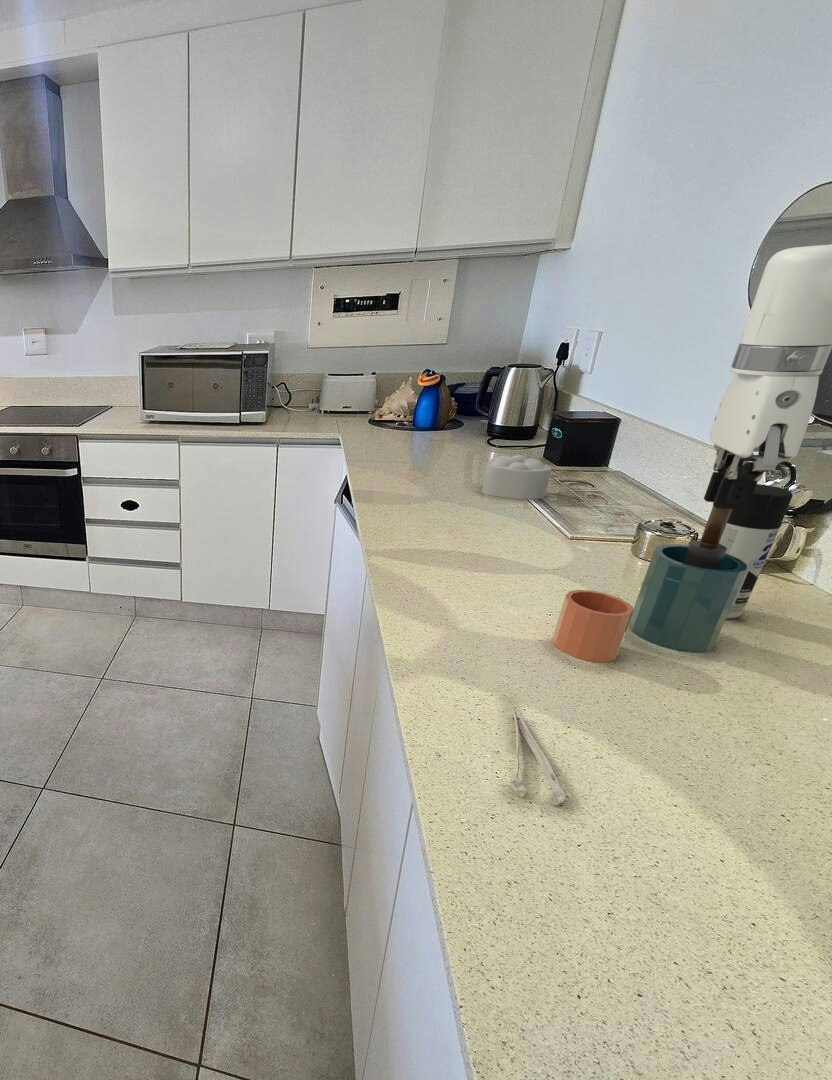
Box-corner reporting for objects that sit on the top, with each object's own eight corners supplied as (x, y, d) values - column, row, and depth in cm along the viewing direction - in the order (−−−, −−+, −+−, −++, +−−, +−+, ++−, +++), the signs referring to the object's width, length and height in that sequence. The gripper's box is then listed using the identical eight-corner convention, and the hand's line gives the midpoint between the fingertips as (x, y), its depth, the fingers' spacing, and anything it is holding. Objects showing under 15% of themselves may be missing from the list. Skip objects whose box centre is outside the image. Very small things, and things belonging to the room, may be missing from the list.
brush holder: (605, 642, 84) (622, 594, 81) (623, 670, 78) (641, 619, 75) (546, 633, 87) (560, 586, 84) (558, 660, 81) (574, 610, 77)
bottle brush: (702, 587, 82) (750, 461, 75) (714, 598, 79) (765, 468, 72) (669, 583, 83) (713, 459, 76) (680, 594, 80) (727, 467, 73)
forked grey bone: (565, 809, 58) (570, 793, 57) (510, 795, 60) (513, 779, 59) (531, 711, 73) (534, 698, 72) (487, 703, 75) (490, 690, 74)
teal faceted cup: (694, 627, 86) (727, 548, 81) (724, 661, 79) (762, 576, 74) (618, 617, 90) (644, 541, 85) (639, 648, 82) (670, 566, 77)
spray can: (738, 625, 86) (795, 499, 79) (677, 609, 91) (725, 489, 83) (742, 609, 90) (797, 488, 83) (684, 594, 95) (730, 478, 87)
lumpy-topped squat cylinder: (484, 483, 151) (491, 451, 148) (544, 490, 144) (553, 456, 141) (480, 494, 143) (488, 460, 140) (544, 502, 136) (553, 467, 133)
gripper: (869, 367, 61) (799, 529, 68) (783, 352, 74) (732, 489, 81) (772, 368, 64) (715, 523, 71) (706, 354, 77) (663, 485, 84)
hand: (724, 504), depth 76 cm, fingers closed on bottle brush
